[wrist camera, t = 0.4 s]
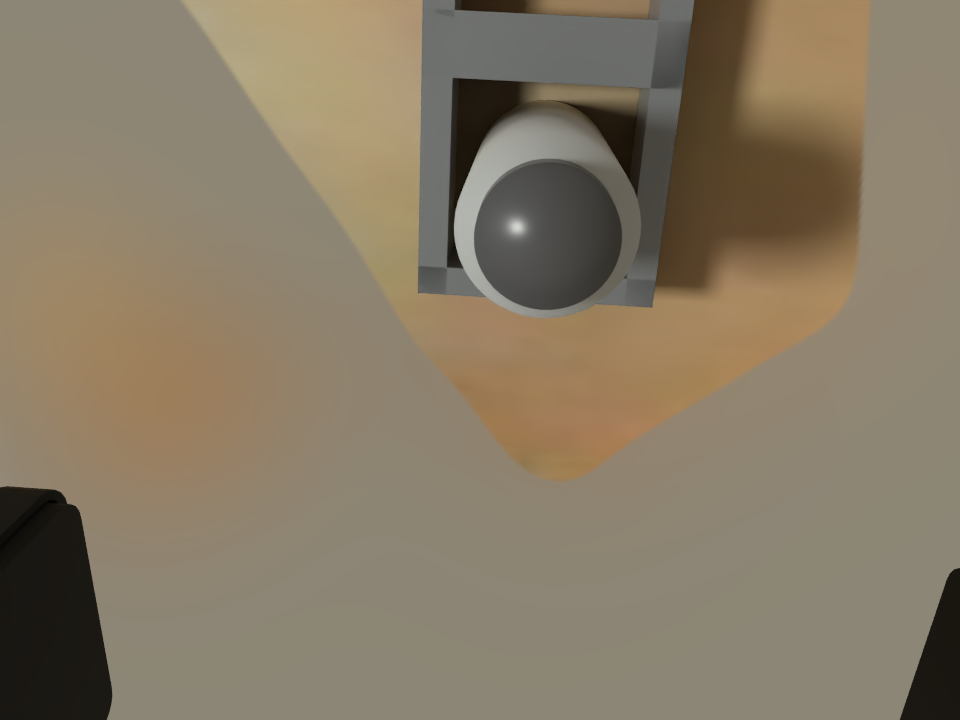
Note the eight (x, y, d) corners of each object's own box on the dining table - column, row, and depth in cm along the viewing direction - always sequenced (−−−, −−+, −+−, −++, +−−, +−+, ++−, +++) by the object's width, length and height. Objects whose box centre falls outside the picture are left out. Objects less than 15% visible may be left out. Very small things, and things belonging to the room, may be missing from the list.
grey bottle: (479, 96, 34) (453, 134, 23) (616, 103, 34) (658, 145, 23) (473, 230, 36) (447, 325, 25) (602, 238, 36) (633, 337, 25)
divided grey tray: (437, -253, 29) (427, -281, 27) (712, -243, 29) (731, -270, 26) (426, 272, 37) (418, 292, 35) (643, 285, 37) (652, 307, 34)
